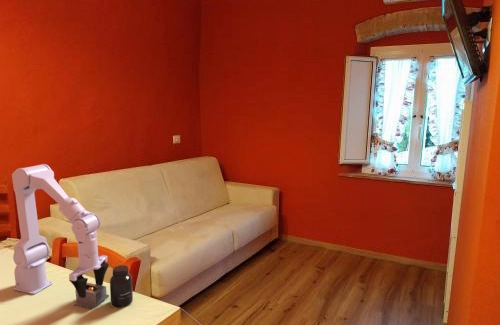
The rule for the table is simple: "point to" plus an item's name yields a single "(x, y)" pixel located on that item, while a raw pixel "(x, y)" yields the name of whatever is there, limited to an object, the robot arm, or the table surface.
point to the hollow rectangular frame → (93, 294)
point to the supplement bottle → (121, 287)
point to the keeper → (86, 305)
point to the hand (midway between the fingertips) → (91, 290)
